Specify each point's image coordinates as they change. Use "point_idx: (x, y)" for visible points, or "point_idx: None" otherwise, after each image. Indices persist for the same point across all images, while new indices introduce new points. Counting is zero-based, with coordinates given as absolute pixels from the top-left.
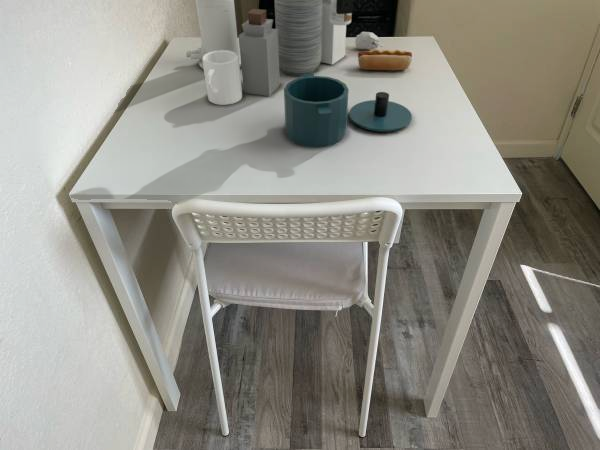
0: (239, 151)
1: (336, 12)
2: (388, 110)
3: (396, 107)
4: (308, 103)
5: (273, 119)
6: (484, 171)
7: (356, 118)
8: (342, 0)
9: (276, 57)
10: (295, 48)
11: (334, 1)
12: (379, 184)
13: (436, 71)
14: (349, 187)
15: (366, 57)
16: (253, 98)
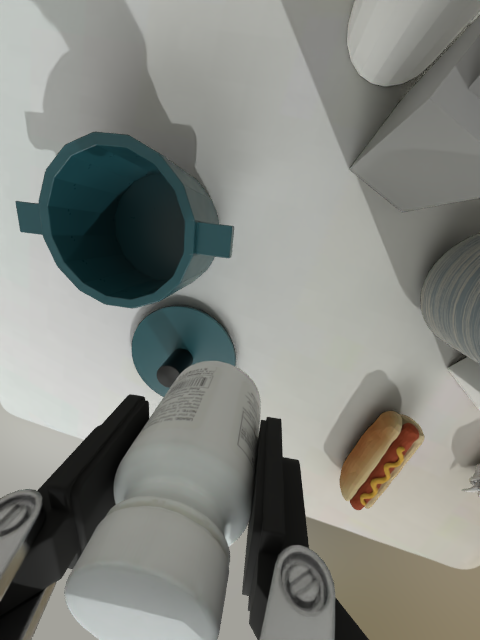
0: (116, 38)
1: (140, 396)
2: None
3: None
4: (42, 184)
5: (232, 153)
6: (37, 406)
7: (175, 314)
8: (67, 459)
9: (437, 191)
10: (473, 274)
11: (151, 430)
12: (10, 275)
13: (319, 507)
14: (2, 230)
15: (388, 433)
16: (356, 121)
